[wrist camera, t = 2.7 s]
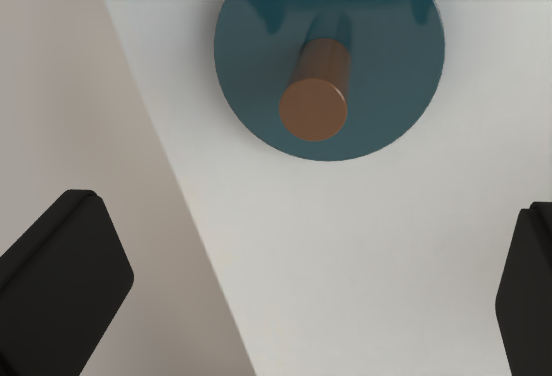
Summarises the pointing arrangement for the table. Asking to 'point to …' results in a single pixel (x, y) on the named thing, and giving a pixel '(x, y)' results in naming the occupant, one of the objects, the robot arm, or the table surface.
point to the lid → (329, 71)
